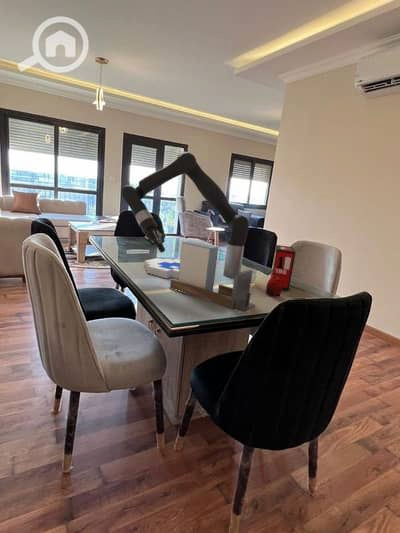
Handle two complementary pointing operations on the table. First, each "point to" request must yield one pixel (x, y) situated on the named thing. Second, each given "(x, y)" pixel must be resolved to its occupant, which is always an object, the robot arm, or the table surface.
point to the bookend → (241, 290)
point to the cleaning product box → (283, 265)
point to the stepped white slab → (163, 267)
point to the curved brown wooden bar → (207, 293)
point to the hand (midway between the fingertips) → (163, 251)
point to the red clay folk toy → (274, 286)
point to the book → (198, 264)
